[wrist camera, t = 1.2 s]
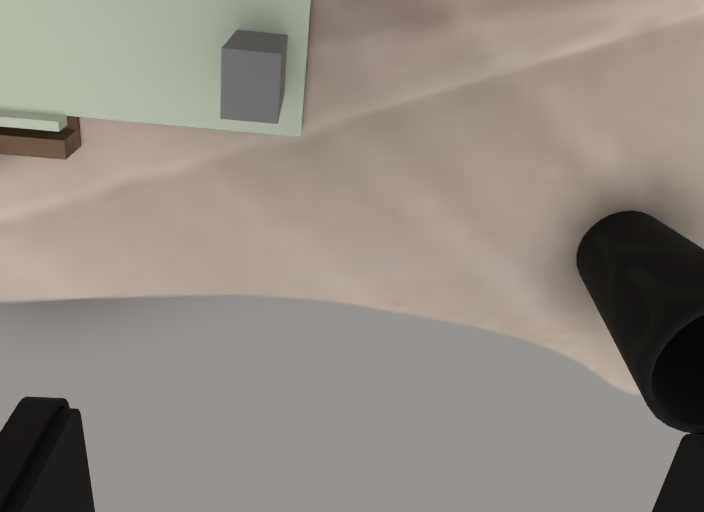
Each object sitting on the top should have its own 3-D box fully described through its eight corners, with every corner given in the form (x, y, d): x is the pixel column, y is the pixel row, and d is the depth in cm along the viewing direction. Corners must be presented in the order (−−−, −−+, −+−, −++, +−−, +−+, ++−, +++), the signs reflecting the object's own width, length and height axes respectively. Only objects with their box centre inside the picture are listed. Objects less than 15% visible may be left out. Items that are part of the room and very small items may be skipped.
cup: (554, 310, 42) (633, 441, 32) (564, 199, 39) (656, 303, 28) (673, 302, 42) (792, 429, 32) (694, 190, 39) (835, 290, 28)
